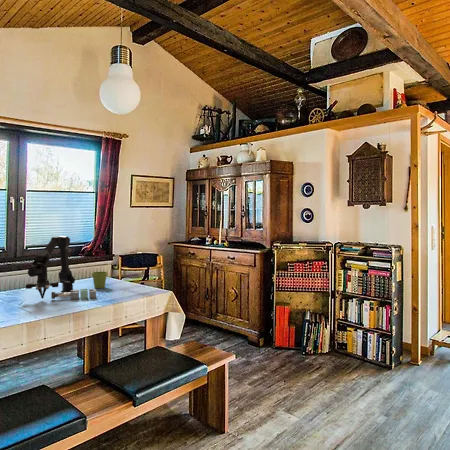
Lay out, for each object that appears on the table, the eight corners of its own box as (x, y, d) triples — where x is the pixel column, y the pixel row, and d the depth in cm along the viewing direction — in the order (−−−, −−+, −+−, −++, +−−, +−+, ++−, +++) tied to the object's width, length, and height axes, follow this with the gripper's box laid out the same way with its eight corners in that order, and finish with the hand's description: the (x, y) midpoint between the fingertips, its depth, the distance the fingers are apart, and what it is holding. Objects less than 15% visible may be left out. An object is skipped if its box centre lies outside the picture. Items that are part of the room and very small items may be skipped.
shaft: (51, 299, 247) (51, 292, 247) (51, 298, 251) (51, 291, 251) (78, 297, 253) (78, 291, 253) (78, 296, 257) (78, 289, 257)
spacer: (80, 299, 253) (80, 290, 252) (80, 297, 258) (80, 289, 258) (87, 298, 254) (87, 290, 254) (87, 296, 260) (87, 288, 260)
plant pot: (110, 286, 294) (110, 271, 294) (102, 289, 282) (102, 274, 282) (96, 285, 296) (96, 271, 296) (88, 288, 285) (88, 273, 284)
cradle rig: (70, 300, 250) (70, 292, 249) (70, 297, 257) (70, 290, 257) (95, 298, 255) (95, 291, 255) (95, 295, 263) (95, 288, 262)
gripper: (24, 277, 236) (24, 302, 236) (57, 275, 242) (57, 300, 243) (26, 274, 246) (26, 298, 247) (58, 272, 253) (58, 296, 253)
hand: (42, 298), depth 247 cm, fingers closed
